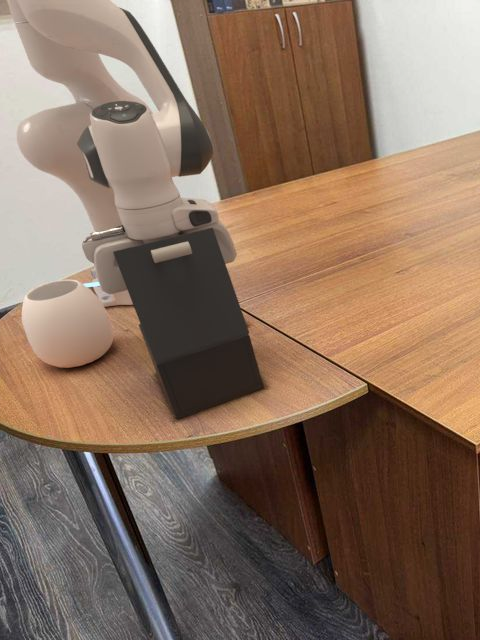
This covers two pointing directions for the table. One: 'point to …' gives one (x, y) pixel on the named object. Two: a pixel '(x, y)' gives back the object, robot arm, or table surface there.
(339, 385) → the table surface
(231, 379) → the dark grey box
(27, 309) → the cream round vase
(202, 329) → the lid
